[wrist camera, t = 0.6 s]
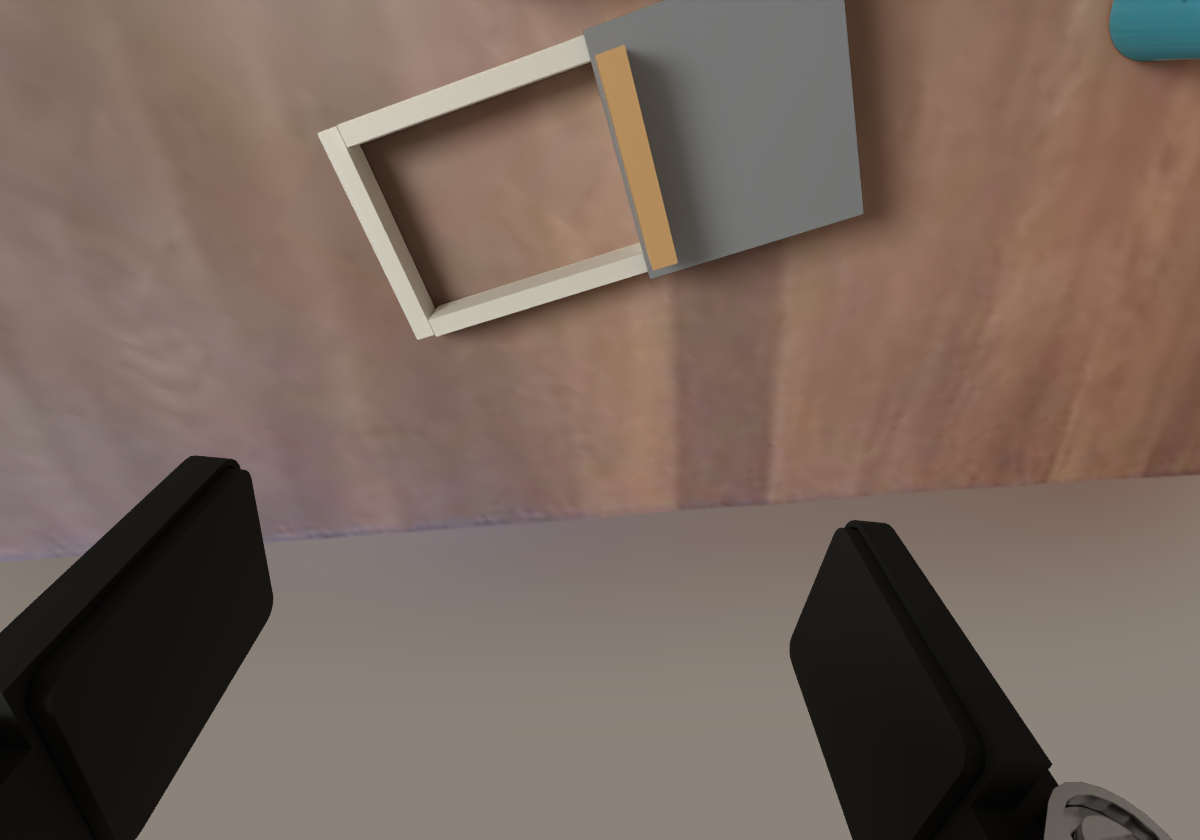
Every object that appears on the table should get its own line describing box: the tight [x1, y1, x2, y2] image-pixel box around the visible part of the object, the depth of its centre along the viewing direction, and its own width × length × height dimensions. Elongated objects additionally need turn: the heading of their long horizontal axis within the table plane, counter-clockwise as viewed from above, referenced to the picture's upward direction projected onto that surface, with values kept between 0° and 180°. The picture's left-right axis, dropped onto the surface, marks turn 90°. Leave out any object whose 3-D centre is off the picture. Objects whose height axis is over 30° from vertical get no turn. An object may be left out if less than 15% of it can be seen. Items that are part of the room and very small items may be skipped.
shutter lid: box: [583, 0, 864, 279], centre depth 27 cm, size 11×11×3 cm
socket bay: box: [317, 35, 648, 340], centre depth 30 cm, size 24×11×2 cm, turn 107°
